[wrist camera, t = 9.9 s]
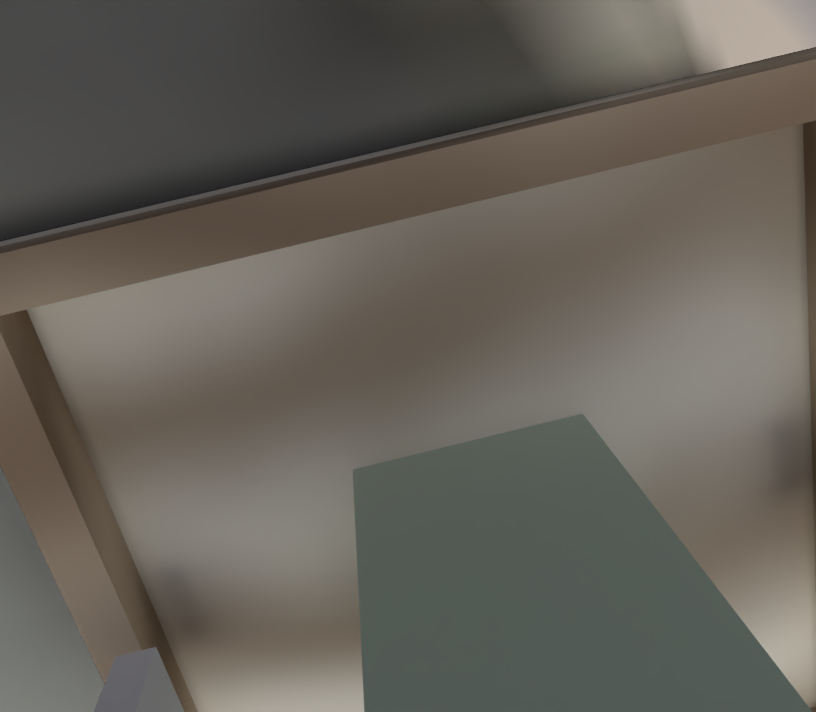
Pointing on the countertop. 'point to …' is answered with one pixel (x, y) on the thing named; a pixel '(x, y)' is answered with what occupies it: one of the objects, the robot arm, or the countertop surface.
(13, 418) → the two-bay tray
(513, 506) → the green block
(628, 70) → the countertop surface
